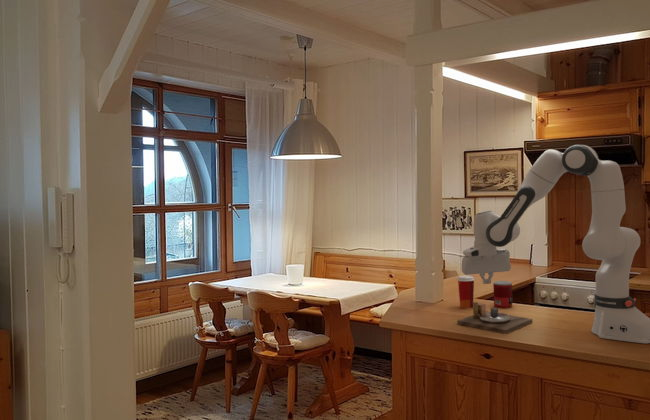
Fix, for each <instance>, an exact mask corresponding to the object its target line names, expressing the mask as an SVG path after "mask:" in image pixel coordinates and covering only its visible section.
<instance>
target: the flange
mask: <svg viewBox="0 0 650 420" xmlns="http://www.w3.org/2000/svg"><path fill="white" fill-rule="evenodd" d="M486 306H487V305H486V303H482V302H478V314H479V319H480V320H481V321H483V322H488V323H504V322H508V321H510V316H509V315H510V314H507V313H504V312H499V308H497V307H491V308H490V312H491V313H486V311H487V309H486Z"/></svg>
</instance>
